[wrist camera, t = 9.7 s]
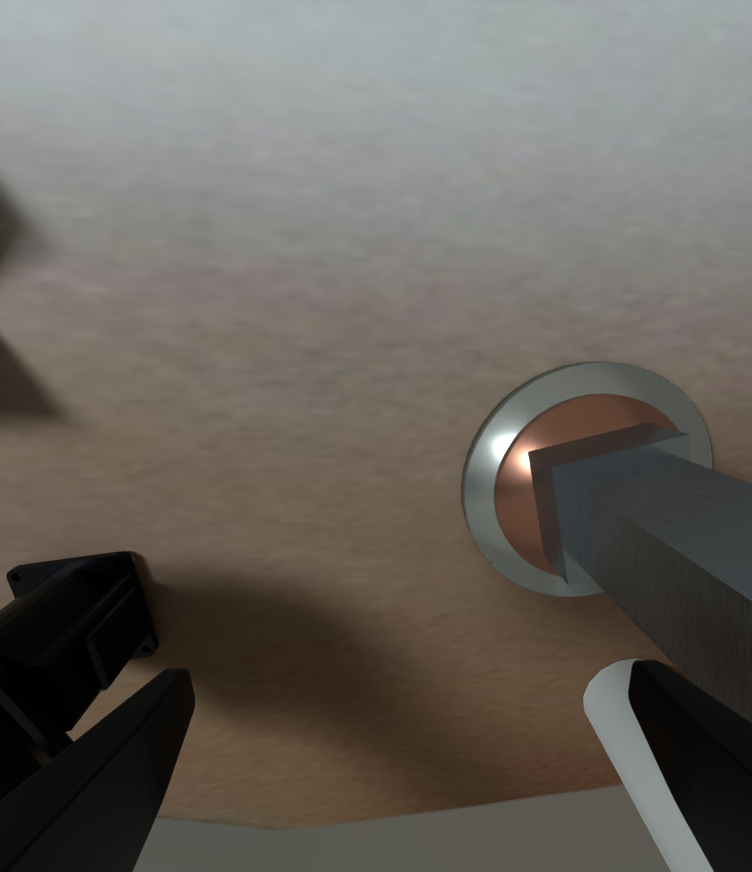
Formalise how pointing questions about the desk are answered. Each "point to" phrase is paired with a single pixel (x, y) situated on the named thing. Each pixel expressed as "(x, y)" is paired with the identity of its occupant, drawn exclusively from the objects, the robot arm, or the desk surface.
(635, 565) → the grey stepped block
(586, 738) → the desk surface
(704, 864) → the white cup
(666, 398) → the copper centred dish
